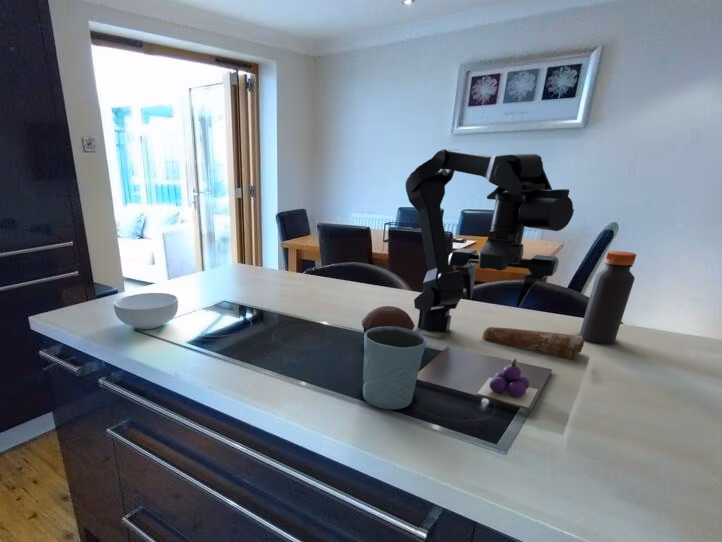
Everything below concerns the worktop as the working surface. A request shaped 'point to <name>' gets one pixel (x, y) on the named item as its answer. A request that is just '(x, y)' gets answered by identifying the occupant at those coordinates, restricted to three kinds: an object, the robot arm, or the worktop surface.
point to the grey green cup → (391, 366)
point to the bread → (537, 341)
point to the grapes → (510, 381)
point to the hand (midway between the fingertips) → (493, 302)
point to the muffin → (387, 318)
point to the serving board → (481, 376)
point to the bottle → (608, 298)
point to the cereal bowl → (146, 309)
